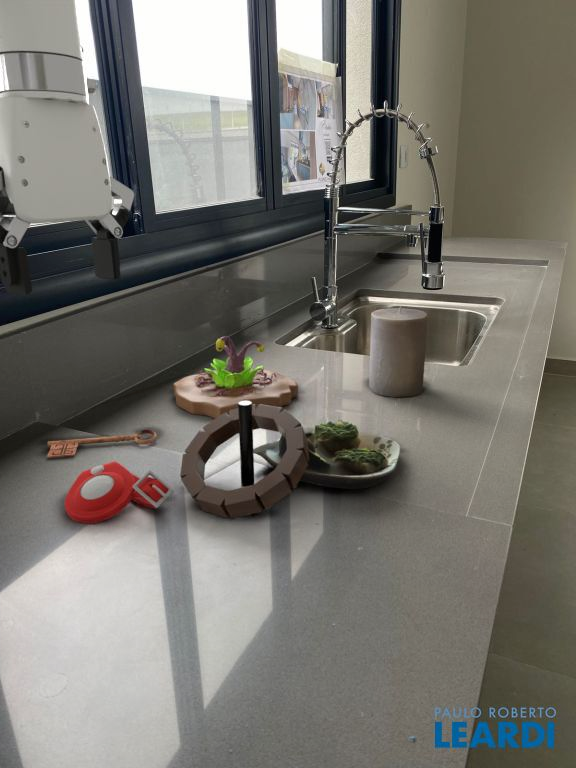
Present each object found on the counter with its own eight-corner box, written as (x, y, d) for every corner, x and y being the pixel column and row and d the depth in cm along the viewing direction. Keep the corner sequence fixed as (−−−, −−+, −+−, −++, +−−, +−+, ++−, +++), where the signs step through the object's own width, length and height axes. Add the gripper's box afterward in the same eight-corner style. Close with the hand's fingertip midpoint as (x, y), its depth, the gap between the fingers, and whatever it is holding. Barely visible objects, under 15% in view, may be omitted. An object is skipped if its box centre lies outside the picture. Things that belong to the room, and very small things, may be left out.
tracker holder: (59, 524, 64) (60, 465, 72) (74, 551, 67) (74, 491, 75) (170, 486, 66) (159, 433, 74) (181, 514, 68) (169, 459, 76)
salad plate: (292, 425, 92) (293, 396, 91) (410, 443, 86) (413, 412, 85) (241, 472, 74) (242, 437, 73) (386, 498, 69) (389, 460, 67)
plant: (153, 397, 105) (147, 334, 101) (240, 373, 118) (238, 316, 114) (224, 429, 91) (221, 357, 88) (314, 397, 104) (314, 334, 100)
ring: (165, 500, 71) (157, 487, 70) (229, 410, 80) (222, 397, 79) (271, 531, 64) (264, 517, 62) (328, 428, 72) (324, 414, 71)
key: (43, 460, 82) (155, 451, 84) (42, 455, 82) (155, 445, 84) (51, 440, 87) (157, 432, 89) (50, 434, 87) (156, 426, 89)
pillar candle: (433, 388, 108) (439, 305, 103) (403, 402, 102) (408, 314, 97) (388, 376, 115) (392, 298, 110) (357, 389, 108) (359, 306, 103)
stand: (195, 494, 72) (189, 406, 69) (243, 466, 79) (240, 385, 76) (253, 516, 67) (250, 423, 64) (299, 485, 74) (299, 399, 71)
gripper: (96, 99, 60) (114, 271, 66) (-87, 77, 47) (-46, 295, 53) (148, 92, 56) (162, 276, 62) (-38, 66, 43) (1, 304, 48)
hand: (66, 285), depth 57 cm, fingers open, 9 cm apart
